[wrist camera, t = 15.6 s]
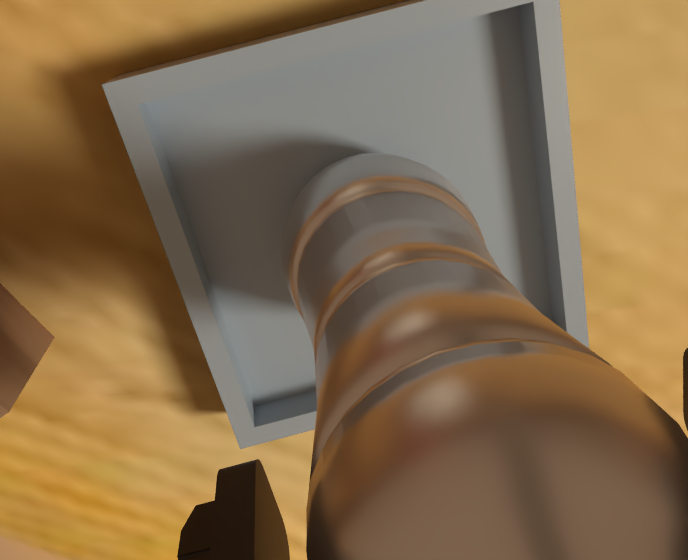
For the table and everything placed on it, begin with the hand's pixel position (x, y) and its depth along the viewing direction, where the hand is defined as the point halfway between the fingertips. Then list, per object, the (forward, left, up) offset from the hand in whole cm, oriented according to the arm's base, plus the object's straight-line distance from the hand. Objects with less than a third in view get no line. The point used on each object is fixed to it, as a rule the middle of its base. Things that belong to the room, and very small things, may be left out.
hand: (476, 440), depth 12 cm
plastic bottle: (0, 0, -13) cm, 13 cm away
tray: (0, 0, -14) cm, 14 cm away
